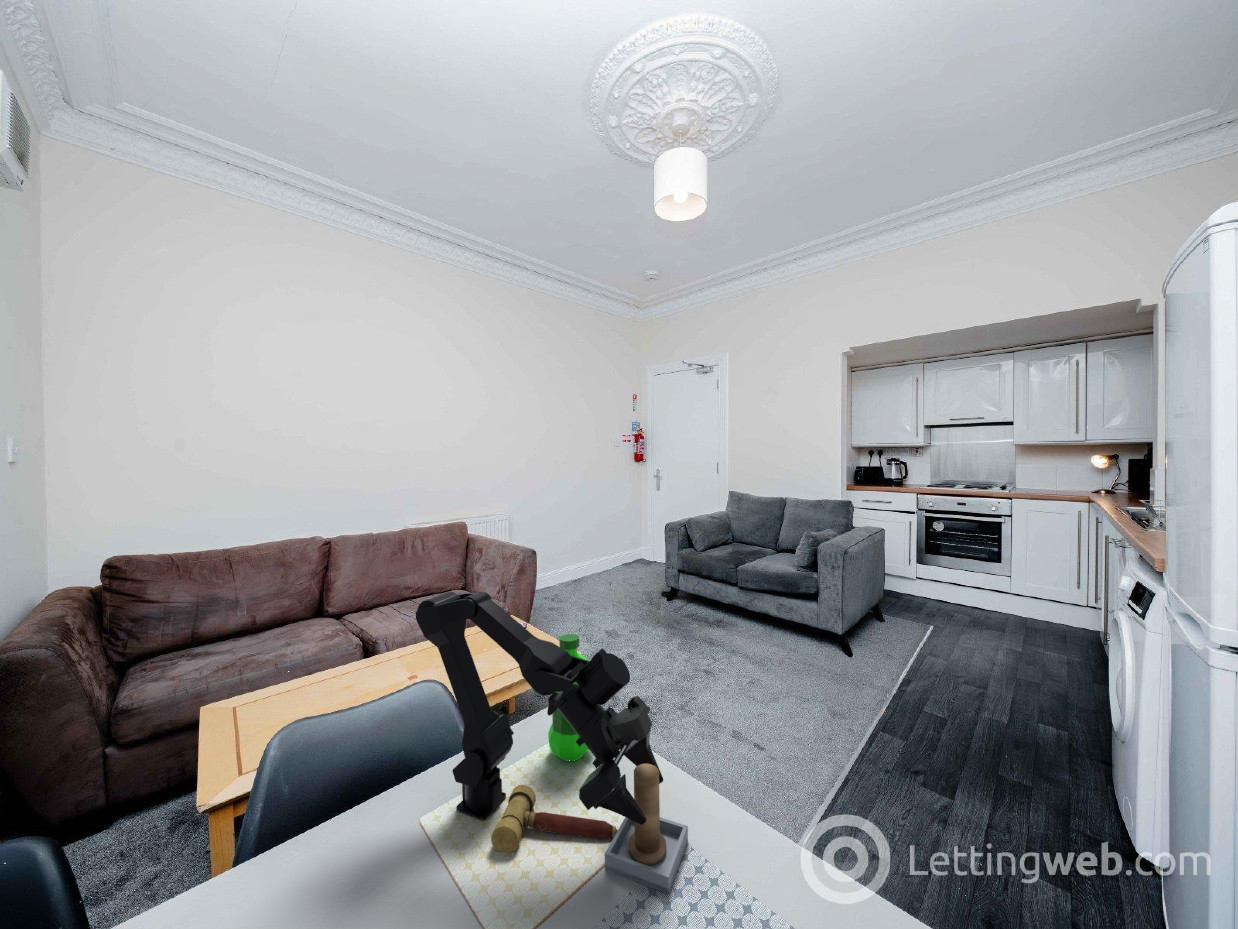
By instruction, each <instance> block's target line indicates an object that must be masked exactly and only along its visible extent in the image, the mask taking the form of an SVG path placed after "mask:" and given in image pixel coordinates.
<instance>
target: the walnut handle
mask: <svg viewBox="0 0 1238 929" xmlns="http://www.w3.org/2000/svg"><path fill="white" fill-rule="evenodd" d="M633 798H634V800H635V801H636V803H637V804H638V806H639V807H640V808H641V810H642V812H643V813H644V815H645V817H646V819H647V821H646V822H645V823H644V824H643V825H641V824H639V823H637V822H635V821H634V822H635V832H634V833H633V834H632V835H631V837H630V839H629V854H630V857H631V858H632V860H633V861H636V862H638V863H641V864H644V865H647V866H654V865H657V864H659V863H660V862H662V861H663V860H664V858H665V856H666V840H665V838H664V836H663V835H662V834H661V833H660V817H661V816H660V815H661V813H660V812H661V811H660V808H661V807H660V784H659V770H658V768H657V767H656V766H654V765H651V764H640V765H638V766H635V768H634V769H633Z"/></svg>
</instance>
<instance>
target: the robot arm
mask: <svg viewBox="0 0 1238 929" xmlns="http://www.w3.org/2000/svg"><path fill="white" fill-rule="evenodd" d="M415 620H416V623H417V625H418V627H419V628H420V631H421V632H422V635H423V637H424V638H425V639H426V640H427V641H429V642H430V643H431V644H433V645H434V646H435V647H436V648H437V649H438V652H439V654H440V657H441V661H442V663H443V666H444V669H445V672H446V675H447V677H448V680H449V683H450V686H451V690H452V692H453V695H454V698H455V701H456V703H457V706H458V709H459V712H460V715H461V717H462V721H463V723H464V725H463V732H462V733H463V734H462V739H461V740H462V741H461V747H462V751H463V756H464V758H463V759H462V760H461V761H460V762H459V763H458V764H457V765H456V766H454V767H453V769H452V775H453V777H454V781H455V783H458V784H462V785H461V789H462V790H461V791H462V793H461V794H462V795H461V796H462V800H461V801H460V802H459V803H458V804H457V805H456V807H455V808H456V811H458V812H460V813H463V814H466V815H469V816H471V817H473V818H477V819H479V820H486V819H487V818H488V817H489V816H490V814H491V813H492V812H494V811H495V809H496V808H497V807H498V806H499V805H500V804H501V803H502V801H504V800H505V799H506V797H507V793H506V792H504V791H503V779H502V778H501V769H500V768H499V767H498V765H499V764H500V763H501V762H503V761H504V760H505V759H506V756H507V755H508V754H509V753H510V752H511V750H512V747H513V745H514V740H513V735H514V734H515V732H514V731H513V730H512V728H511V726H510V723H509V719H508V716H507V714H505V713H502V714H501V715H499V714H498V713H497V712H495V710H493V709H492V708H491V705H490V703H489V700H488V697H487V695H486V691H485V689H484V687H483V684H482V681H481V680H482V679H481V678H480V675H479V673H478V670H477V667H476V664H475V662H474V658H473V656H472V653H471V650H470V647H469V645H468V643H467V640H466V639H467V638H466V636H465V633H466V632H465V631H466V625H467V620H470V621H471V622H472V623H473V624H474V625H476V627H477V628H479V629H480V630H481V631H482V632H483V633H484V634H485V635H486V636H488V638H490V639H491V640H492V641H493V642H494V643H496V644H497V645H498V646H499V647H500V648H501V649H502V650H503V651H504V652H506V653H507V654H508V655H509V656H510V657H511V658H512V659H513V660H515V662H516V663H517V664H518V666H519V669H520V673H521V676H522V678H523V679H524V680H525V681H526V683H528V685H529V686H530V687H531V688H532V690H534V692H535V693H536V694H538V695H540V696H543V697H544V696H548V698H547V700H548V702H547V703H548V705H547V710H546V711H547V713H546V714H547V716H552V714H553V713H554V712H555V711H556V710H557V709H558V710H559V711H560V712H561V714H562V715H563V716H564V717H565V719H566V720H567V721H568V723H569V724H570V725H571V727H572V728H573V729H574V730H575V732H576V733H577V734H578V736H579V738H578V739H577V740H576V743H577V744H578V745H579V747H580V746H581V745H582V744H583V743H584V744H585V745H586V746H587V747H588V750H589V751H590V752H591V754H592V755H593V757H594V760H593V761H592V765H593V766H594V768H595V770H593V771H592V772H591V773H589V775H588V776H587V777H586V779H585V780H584V782H583V783H582V785H581V787H580V788H579V790H578V798H579V801H580V802H581V804H583V806H584V808H585V809H586V810H587V811H589V810H590V809H592V808H594V810H597V809H598V808H602V809H605V810H608V811H610V812H613V813H616V814H618V815H620V816H621V817H624V818H625V817H626V818H628V819H630V820H632V821H635V822H637V823H639V824H641V825H643V824H644V823H645V822H646V821H647V819H646V817H645V815H644V813H643V812H642V810H641V808H640V807H639V806H638V804H637V803H636V801H635V800H634V796H633V795H632V793H630V790H628V788H627V776H626V773H624V774H623V775H622V774H621V769H620V766H619V764H620V762H621V761H622V759H623V757H625V758H626V759H627V760H629V761H630V762H631V763H633V765H634V766H635V767H637V766H638V765H640V764H651V765H654V766H656V767H657V768H658V770H659V785H660V784H662V783H663V782H664V776H663V774H662V772H661V770H660V767H659V765H658V763H657V761H656V758H655V755H654V754H653V750H652V747H651V745H650V741H651V740H650V737H651V736H650V735H651V731H652V729H651V727H652V726H653V723H652V720H651V718H650V717H649V713H650V711H651V708H650V706H648V705H647V704H646V702H645V701H644V700H643V699H642V698H641V697H640V696H638V695H636V696H633V697H630V699H629V700H628V702H627V707H626V708H624V709H623V710H622V711H620V712H617V711H616V710H615V709H614V708H613V707H611V706H608V707H607V708H606V709H605V708H604V706H603V705H605V704H607V703H608V702H609V701H610V700H612V698H613V697H615V696H616V695H617V694H618V693H619V692H620V691H621V690H622V689H624V687H626V686H627V685H628V684H629V683H630V680H631V674H630V670H629V667H628V666H627V664H626V663H625V661H624V660H623V659H622V658H619V657H618V656H617V655H615V654H614V653H609V652H607V651H606V650H605V649H604V648H600V649H599V650H598V651H597V652H596V653H595V654H594V655H593V656H592V657H591V659H590V660H588V659H587V660H585V659H582V658H578V657H575V656H572V655H570V654H569V653H568V652H567V651H565V650H564V649H562V648H560V645H557V644H555V643H554V642H552V641H547V640H544V639H540V638H538V637H537V636H536V635H534V634H533V633H531V632H530V631H529V630H528V629H526V627H524V626H523V625H522V624H521V623H519V622H518V621H517V620H516V618H515V619H514V617H513V616H512V615H511V614H509V613H508V612H507V611H506V610H505V609H503V607H501V606H499V605H498V604H497V603H496V602H495V601H493V600H492V597H491V595H490V593H488V592H486V591H485V592H484V591H478V592H467V593H460V594H459V593H455V592H454V591H446V592H443V593H440V594H438V595H436V596H433V597H431V598H428V599H426V600H423V601H422V602H420V604H419V605H418V606H417V609H416V611H415ZM574 682H576V683H577V684H578V685H576V684H573V683H574ZM556 692H560V693H556Z"/></svg>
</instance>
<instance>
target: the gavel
mask: <svg viewBox="0 0 1238 929" xmlns="http://www.w3.org/2000/svg"><path fill="white" fill-rule="evenodd" d="M536 796H537V795H536V792H535V791H534V789H533V788H532V787H530V786H529V785H527V784H518V785H517V786H515V787H514V788H513V789H512V791H511V794H510V795H509V798H508V801H507V805H506V808H505V810H504V812H503V814H502V817H501V818H500V819H499V821H498V822H497V823H496V825H495V827H494V828H493V830H492V833H491V836H490V843H491V845H492V847H493V848H494V850H495V851H496V852H498V853H505V854H511V853H514V852H515V851H516V850H517V849H518V847H519V844H520V841H521V839H522V835H523V829H524V828H530V829H535V830H537V831H540V832H547V833H554V834H559V835H565V836H573V837H578V838H587V839H594V840H601V841H604V840H608V839H613V838H614V836H615V835H616V833H617V831H618V829H617V826H615V825H613V824H612V823H611V824H610V823H609V822H607V821H606V820H600V819H592V818H585V817H579V816H574V815H573V816H571V815H565V814H558V813H550V812H545V811H541V812H533V809H534V806H535V804H536V800H537V797H536Z"/></svg>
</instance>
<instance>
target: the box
mask: <svg viewBox="0 0 1238 929" xmlns="http://www.w3.org/2000/svg"><path fill="white" fill-rule="evenodd" d="M688 829H689V826H688V825H687V824H682V823H680V822H676V821H673V820H670V819H668V818H667V819H666V818H664V817H661V816H660V833H661V834H662V835H663V836H664V838H665V840H666V856H665V858H664V860H663V861H662V862H660V863H659V864H657V865H654V866H647V865H644V864H641V863H638V862H636V861H633V860H632V858H631V857H630V854H629V839H630V837H631V835H632V834H633V833H634V832H635V822H634V821H632V820H630V819H628V818H626V817H624V818H623V821H622V822H621V824H620V826H619V828H618V829H617V830H618V831H617V833H616V835H615V836H614V838H612V840H611V842H610V843H609V846H608V847H607V849H606V851H605V853H604V870H605V871H607V872H610V873H612V874H614V875H617V876H620V877H622V878H625V879H628V880H630V881H633V882H636V883H638V884H641V885H643V886H646V887H648V888H650V889H653V890H656V891H659V892H660V893H661V892H662V893H664V894H667V895H670V892H671V889H672V887H673V883H674V881H675V878H676V876H677V872H678V871H679V867H680V864H681V861H682V858H683V856H684V853H685V851H686V847H687V845H688V841H689V833H688V832H689V830H688Z"/></svg>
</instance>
